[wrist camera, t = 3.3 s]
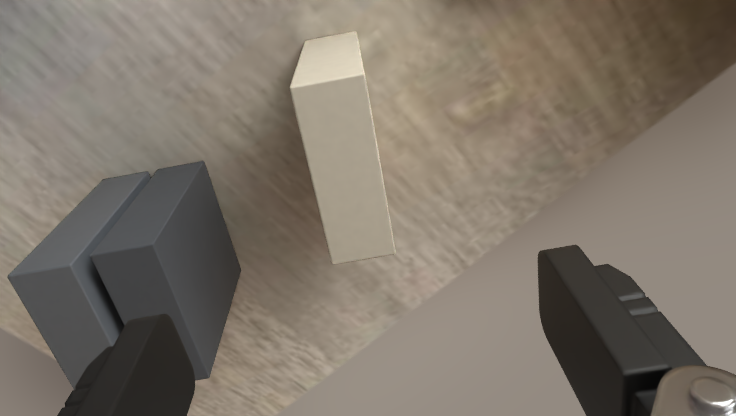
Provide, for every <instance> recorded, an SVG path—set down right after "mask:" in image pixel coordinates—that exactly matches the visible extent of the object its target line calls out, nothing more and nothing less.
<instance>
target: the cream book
mask: <svg viewBox="0 0 736 416" xmlns="http://www.w3.org/2000/svg"><path fill="white" fill-rule="evenodd" d="M289 89H290V93H291V98H292V102H293V106H294V110H295V114H296V118H297V122H298V126H299V131H300V135H301V139H302V143H303V147H304V151H305V155H306V159H307V164H308V168H309V172H310V176H311V180H312V184H313V188H314V192H315V197H316V201H317V205H318V209H319V213H320V217H321V221H322V225H323V230H324V234H325V238H326V242H327V246H328V250H329V254H330V258H331V263H332V264H333V265H336V264H342V263H347V262H353V261H359V260H365V259H370V258H376V257H382V256H388V255H394V254H395V253H396V250H395V245H394V239H393V233H392V227H391V221H390V216H389V210H388V204H387V198H386V193H385V187H384V181H383V175H382V169H381V164H380V158H379V152H378V146H377V140H376V135H375V129H374V123H373V117H372V112H371V106H370V100H369V94H368V88H367V83H366V77H365V72H364V67H363V62H362V57H361V52H360V47H359V42H358V37H357V32H356V31H354V32H348V33H343V34H337V35H332V36H327V37H321V38H316V39H311V40H306V41H305V43H304V46H303V49H302V52H301V55H300V58H299V61H298V64H297V67H296V70H295V73H294V76H293V79H292V82H291V85H290V88H289Z"/></svg>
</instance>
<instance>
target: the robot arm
mask: <svg viewBox="0 0 736 416" xmlns="http://www.w3.org/2000/svg"><path fill="white" fill-rule="evenodd" d="M538 284H539V311H540V318H541V323H542V326H543V330H544V333H545V335H546V338H547V340H548V342H549V344H550V346H551V348H552V350H553V351H554V353H555V355H556V357H557V359H558V361H559V363H560V365H561V367H562V369H563V371H564V373H565V375H566V377H567V379H568V381H569V383H570V385H571V387H572V388H573V390H574V392H575V394H576V396H577V398H578V400H579V402H580V404H581V406H582V408H583V410H584V412H585V414H586V416H736V375H734V374H732V373H730V372H728V371H725V370H721V369H718V368H714V367H710V366H707V365H706V364H705V363H704V362H703V360H702V359H701V358H700V357H699V356H698V355H697V354H696V353H695V351H694V350H693V349H692V348H691V347H690V345H689V344H688V343H687V342H686V341H685V340H684V338H683V337H682V336H681V335H680V334H679V333H678V331H677V330H676V329H675V328H674V327H673V326H672V324H671V323H670V322H669V321H668V320H667V319H666V317H665V316H664V315H663V314H662V313H661V312H658V310H657V307H656V306H655V305H654V304H653V302H652V301H651V300H650V299H649V298H648V297H646V296H645V293H644V292H643V291H642V290H641V289H640V287H639V286H638V285H637V284H636V283H635V281H634V280H633V279H632V278H631V277H630V276H628V275H626V274H625V273H623V272H621V271H619V270H617V269H616V268H614V267H612V266H610V265H609V264H604V265H599V266H594V265H593V264H592V263H591V262H590V260H589V259H588V258H587V256H586V255H585V254H584V252H583V251H582V250H581V249H580V248H579V246H577V245H572V246H565V247H560V248H554V249H548V250H542V251H540V252H539V254H538ZM75 388H76V389H75V390H73V391H72V392H71V394H70V396H69V397H68V399H67V401H66V402H65V407H64V408H62V409H61V411H60V412H59V414H58V415H57V416H187V413H188V410H189V407H190V404H191V401H192V398H193V395H194V390H195V375H194V370H193V366H192V364H191V361H190V359H189V357H188V355H187V352H186V350H185V348H184V345H183V343H182V341H181V339H180V336H179V334H178V332H177V329H176V327H175V325H174V323H173V321H172V319H171V317H170V316H169V315H167V314H159V315H153V316H147V317H141V318H136V319H131V320H129V321H128V322H127V323H126V324H125V326H124V328H123V330H122V331H121V333H120V335H119V337H118V338H117V340H116V342H115V344H114V345H113V346H110V347H107V348H106V349H105V350H104V351H103V352H102V353H101V354H99V355H98V356H97V357H96V358H95V359H94V360H93V361H92V362H91V363H90V364H89V365H88V366H87V368H86V369H85V371H84V373H83V374H82V376H81V377H80V379H79V381H78V382H77V384H76V386H75Z"/></svg>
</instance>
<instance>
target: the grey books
mask: <svg viewBox="0 0 736 416" xmlns="http://www.w3.org/2000/svg"><path fill="white" fill-rule="evenodd" d="M240 272H241V268H240V265H239V263H238V260H237V257H236V254H235V251H234V248H233V245H232V242H231V239H230V236H229V233H228V230H227V227H226V224H225V221H224V218H223V216H222V213H221V210H220V207H219V204H218V201H217V198H216V195H215V192H214V189H213V186H212V183H211V180H210V177H209V174H208V171H207V168H206V166H205V163H204V161H202V162H196V163H191V164H185V165H180V166H174V167H168V168H163V169H158V170H157V172H156V173H155V174H154V175H153V177H152V178H151V177H150V175H149V172H142V173H136V174H130V175H125V176H119V177H114V178H108V179H103V180H102V181H101V182H100V183H99V184H98V185H97V186H96V187H95V188H94V189H93V190H92V191H91V192H90V193H89V194H88V195H87V196H86V197H85V198H84V199H83V200H82V201H81V202H80V203H79V204H78V205H77V206H76V207H75V208H74V209H73V210H72V211H71V212H70V213H69V214H68V215H67V216H66V217H65V218H64V219H63V220H62V221H61V222H60V223H59V224H58V225H57V226H56V227H55V228H54V229H53V230H52V232H51V233H50V234H49V235H48V236H47V237H46V238H45V239H44V240H43V241H42V242H41V243H40V244H39V245H38V246H37V247H36V248H35V249H34V250H33V251H32V252H31V253H30V254H29V255H28V256H27V257H26V258H25V259H24V260H23V261H22V262H21V263H20V264H19V265H18V266H17V267H16V268H15V269H14V270H13V271H12V272H11V273H10V274H9V275H8V279H9V281H10V282H11V284H12V286H13V287H14V289H15V291H16V292H17V294H18V296H19V297H20V299H21V301H22V302H23V304H24V306H25V308H26V309H27V311H28V313H29V314H30V316H31V318H32V319H33V321H34V323H35V324H36V326H37V328H38V329H39V331H40V333H41V335H42V336H43V338H44V340H45V341H46V343H47V345H48V346H49V348H50V350H51V351H52V353H53V355H54V357H55V358H56V360H57V362H58V363H59V365H60V367H61V368H62V370H63V371H64V373H65V375H66V377H67V378H68V380H69V382H70V384H71V385H72V387H73V388H74V390H75V389H76V388H75V386H76V384H77V382H78V381H79V379H80V377H81V376H82V374H83V373H84V371H85V369H86V368H87V366H88V365H89V364H90V363H91V362H92V361H93V360H94V359H95V358H96V357H97V356H98V355H99V354H101V353H102V352H103V351H104V350H105V349H106V348H107V347H110V346H113V345H114V344H115V342H116V340H117V338H118V337H119V335H120V333H121V331H122V330H123V328H124V326H125V324H126V323H127V322H128V321H129V320H131V319H136V318H141V317H147V316H153V315H159V314H167V315H169V316H170V317H171V319H172V321H173V323H174V325H175V327H176V329H177V332H178V334H179V336H180V339H181V341H182V343H183V345H184V348H185V350H186V352H187V355H188V357H189V359H190V361H191V364H192V366H193V370H194V375H195V380H201V379H207V378H209V377H210V374H211V370H212V367H213V364H214V360H215V357H216V354H217V350H218V347H219V343H220V340H221V337H222V333H223V330H224V327H225V323H226V320H227V316H228V313H229V310H230V306H231V303H232V299H233V296H234V293H235V289H236V286H237V283H238V279H239V276H240Z"/></svg>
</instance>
